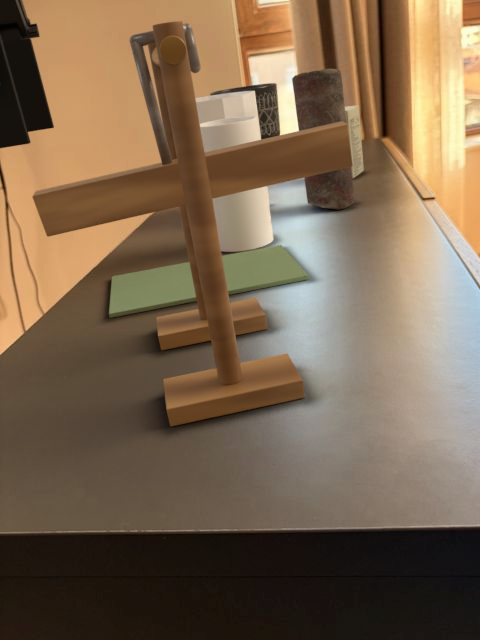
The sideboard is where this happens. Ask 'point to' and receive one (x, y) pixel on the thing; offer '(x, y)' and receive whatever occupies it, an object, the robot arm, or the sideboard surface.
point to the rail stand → (207, 268)
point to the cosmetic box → (355, 138)
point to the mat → (178, 286)
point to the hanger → (164, 178)
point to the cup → (244, 207)
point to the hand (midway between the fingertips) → (24, 138)
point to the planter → (263, 107)
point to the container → (227, 107)
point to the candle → (317, 110)
